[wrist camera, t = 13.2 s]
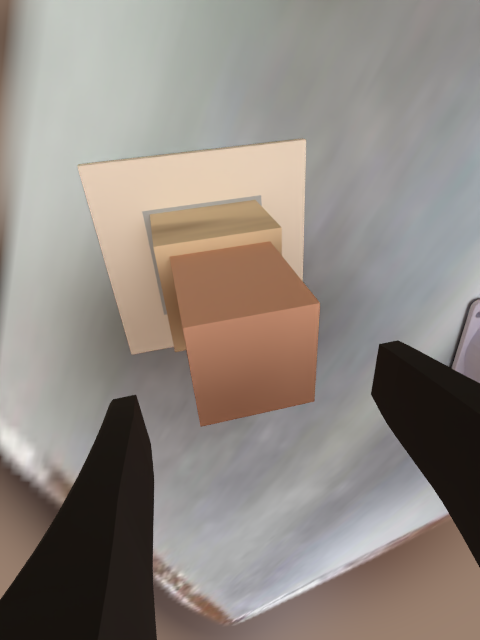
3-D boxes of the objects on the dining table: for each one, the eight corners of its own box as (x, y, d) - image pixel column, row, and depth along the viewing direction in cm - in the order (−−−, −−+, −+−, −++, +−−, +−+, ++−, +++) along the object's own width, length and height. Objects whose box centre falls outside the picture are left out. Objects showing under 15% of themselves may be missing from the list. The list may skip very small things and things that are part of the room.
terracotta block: (272, 324, 17) (314, 401, 13) (184, 340, 17) (200, 426, 13) (270, 241, 15) (320, 303, 11) (169, 256, 15) (182, 328, 11)
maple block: (259, 291, 21) (282, 331, 18) (168, 307, 20) (175, 352, 17) (255, 199, 18) (281, 227, 15) (149, 214, 18) (153, 246, 14)
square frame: (299, 318, 23) (301, 322, 23) (131, 350, 22) (131, 355, 21) (302, 138, 18) (306, 139, 17) (78, 164, 16) (77, 166, 16)
